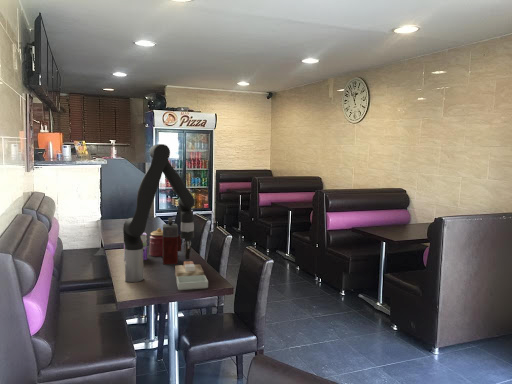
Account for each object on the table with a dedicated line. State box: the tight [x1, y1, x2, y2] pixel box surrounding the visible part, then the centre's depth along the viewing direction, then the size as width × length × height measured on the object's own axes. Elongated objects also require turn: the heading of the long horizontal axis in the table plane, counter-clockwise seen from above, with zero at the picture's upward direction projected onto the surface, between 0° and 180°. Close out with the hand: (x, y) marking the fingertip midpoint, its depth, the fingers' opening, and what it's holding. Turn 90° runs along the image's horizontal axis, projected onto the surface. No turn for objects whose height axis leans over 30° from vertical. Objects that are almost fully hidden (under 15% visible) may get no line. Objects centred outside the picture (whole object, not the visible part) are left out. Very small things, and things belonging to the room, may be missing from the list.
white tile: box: [185, 264, 195, 272], centre depth 220 cm, size 5×5×2 cm
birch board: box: [174, 263, 205, 280], centre depth 222 cm, size 14×14×5 cm
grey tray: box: [176, 274, 209, 291], centre depth 210 cm, size 15×11×4 cm
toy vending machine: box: [162, 217, 182, 265], centre depth 250 cm, size 9×11×28 cm
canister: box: [148, 227, 163, 257], centre depth 268 cm, size 13×13×18 cm
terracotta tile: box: [183, 260, 195, 268], centre depth 225 cm, size 5×5×2 cm
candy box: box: [123, 232, 148, 262], centre depth 254 cm, size 14×6×16 cm, turn 112°
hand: (187, 259), depth 233 cm, fingers closed
